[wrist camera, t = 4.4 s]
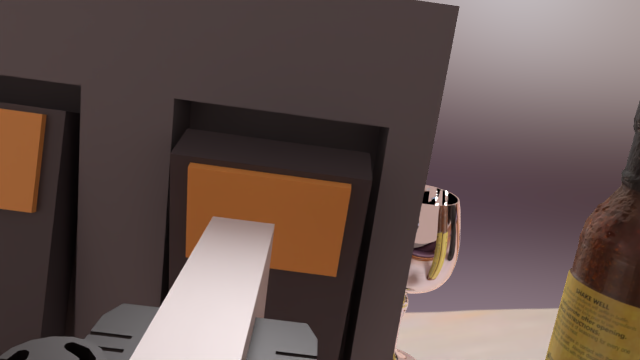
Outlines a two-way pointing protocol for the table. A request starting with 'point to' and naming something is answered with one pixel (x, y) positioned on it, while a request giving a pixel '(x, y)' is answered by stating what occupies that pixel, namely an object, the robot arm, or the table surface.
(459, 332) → the table surface
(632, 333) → the sauce bottle
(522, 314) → the table surface
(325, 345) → the panel
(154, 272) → the block
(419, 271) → the wineglass
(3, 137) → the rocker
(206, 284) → the robot arm
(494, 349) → the table surface
